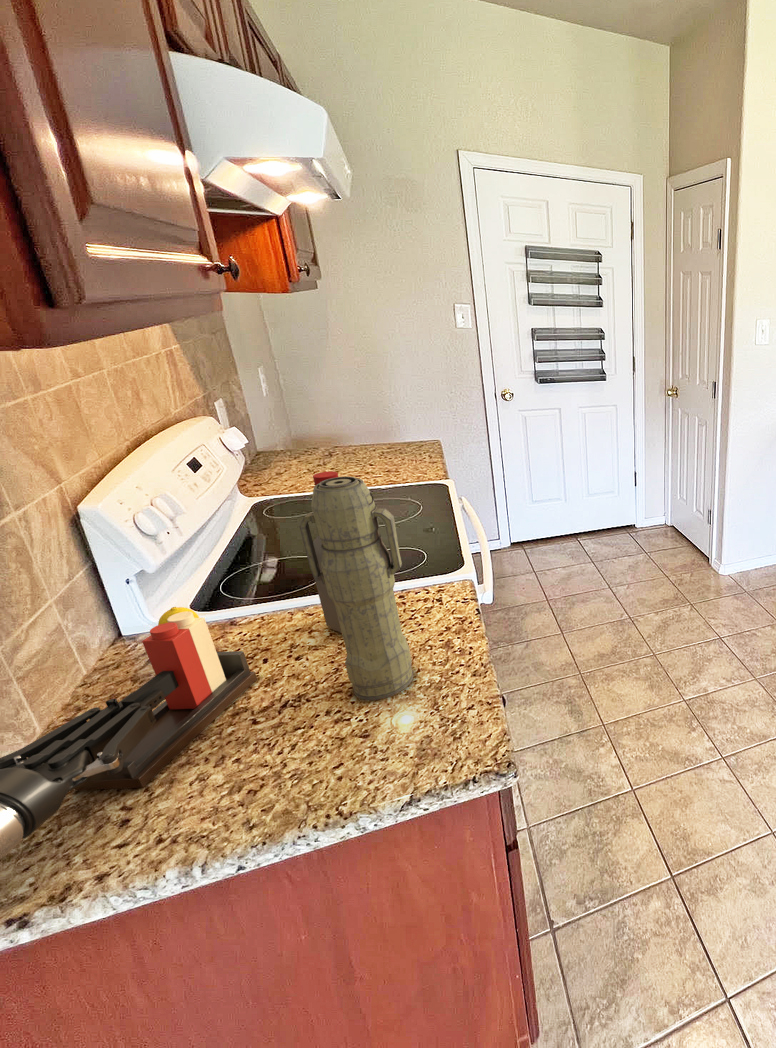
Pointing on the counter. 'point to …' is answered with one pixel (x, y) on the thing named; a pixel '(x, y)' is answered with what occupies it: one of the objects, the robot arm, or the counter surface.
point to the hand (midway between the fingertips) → (170, 678)
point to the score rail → (176, 729)
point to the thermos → (360, 584)
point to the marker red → (178, 664)
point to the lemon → (174, 611)
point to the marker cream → (202, 646)
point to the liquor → (325, 600)
